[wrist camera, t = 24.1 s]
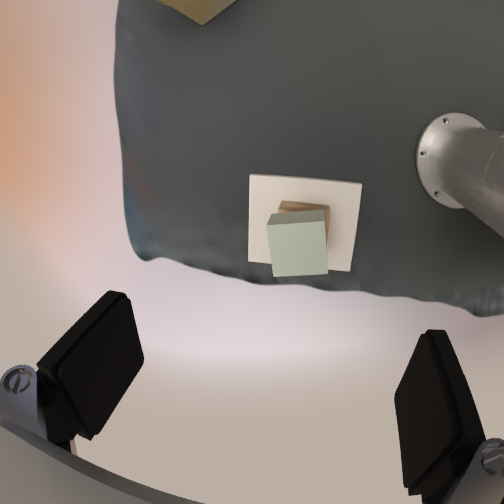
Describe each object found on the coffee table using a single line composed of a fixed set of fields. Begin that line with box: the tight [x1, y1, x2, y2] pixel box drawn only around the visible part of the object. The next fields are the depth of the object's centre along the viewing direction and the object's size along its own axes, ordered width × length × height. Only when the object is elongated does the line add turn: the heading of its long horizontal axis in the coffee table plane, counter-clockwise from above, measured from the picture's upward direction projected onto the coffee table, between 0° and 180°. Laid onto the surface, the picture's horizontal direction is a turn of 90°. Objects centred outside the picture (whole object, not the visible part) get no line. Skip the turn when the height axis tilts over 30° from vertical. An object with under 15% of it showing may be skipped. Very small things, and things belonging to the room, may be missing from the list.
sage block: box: [266, 210, 328, 277], centre depth 35 cm, size 6×6×4 cm
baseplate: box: [248, 174, 362, 272], centre depth 41 cm, size 14×12×1 cm
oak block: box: [278, 200, 330, 244], centre depth 38 cm, size 6×6×4 cm
